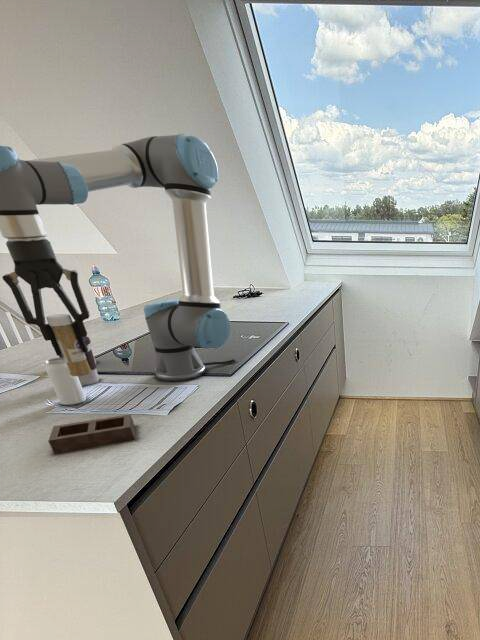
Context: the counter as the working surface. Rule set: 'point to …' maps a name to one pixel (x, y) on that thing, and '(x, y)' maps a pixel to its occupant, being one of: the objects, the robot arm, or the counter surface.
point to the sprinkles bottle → (69, 344)
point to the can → (64, 382)
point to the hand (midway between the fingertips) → (72, 352)
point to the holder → (92, 433)
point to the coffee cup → (93, 375)
